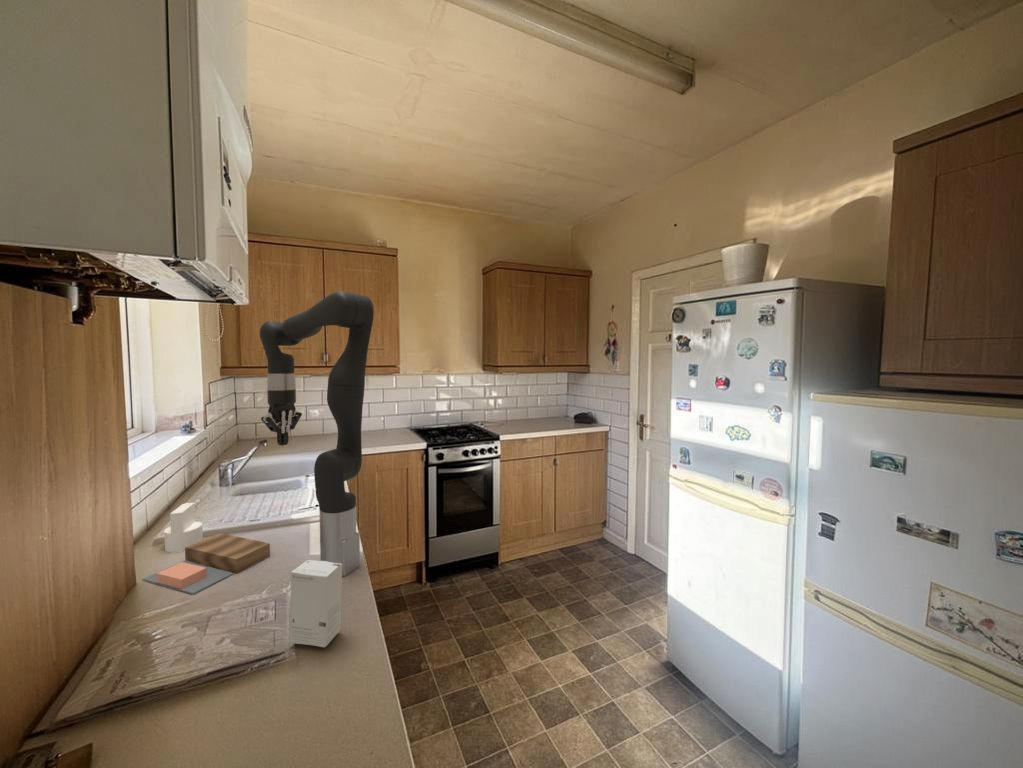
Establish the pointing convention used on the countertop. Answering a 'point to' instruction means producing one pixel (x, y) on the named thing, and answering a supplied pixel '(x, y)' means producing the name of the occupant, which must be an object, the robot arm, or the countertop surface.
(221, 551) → the deck
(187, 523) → the base with upright slab
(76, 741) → the countertop surface
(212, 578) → the mat
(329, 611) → the skincare box
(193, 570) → the salmon pink flat block
